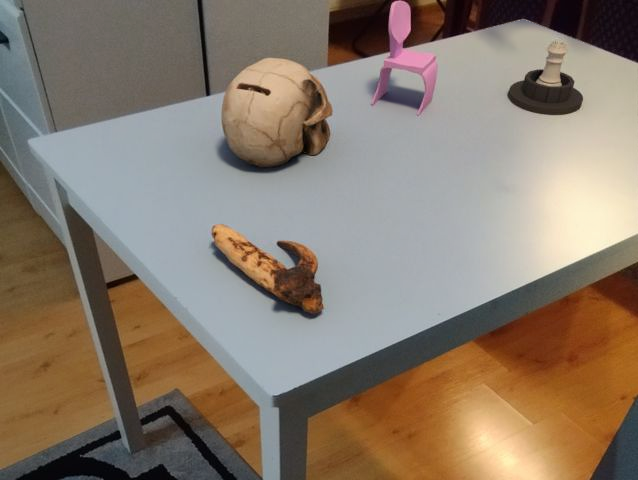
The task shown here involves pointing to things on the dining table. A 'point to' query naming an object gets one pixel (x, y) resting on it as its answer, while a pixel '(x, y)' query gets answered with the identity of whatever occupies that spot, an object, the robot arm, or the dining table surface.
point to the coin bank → (275, 113)
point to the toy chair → (406, 55)
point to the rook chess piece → (553, 64)
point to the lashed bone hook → (274, 268)
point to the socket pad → (544, 106)
